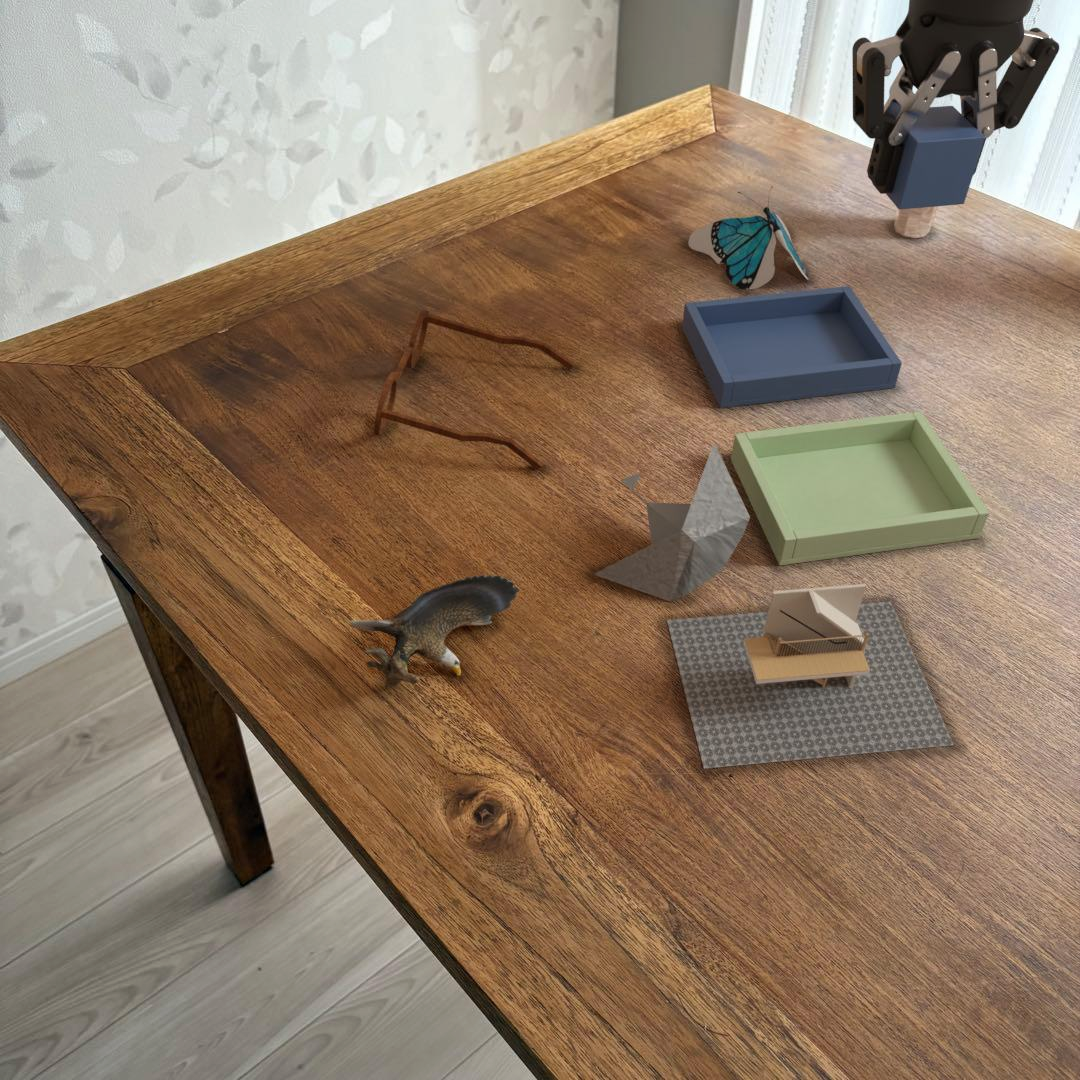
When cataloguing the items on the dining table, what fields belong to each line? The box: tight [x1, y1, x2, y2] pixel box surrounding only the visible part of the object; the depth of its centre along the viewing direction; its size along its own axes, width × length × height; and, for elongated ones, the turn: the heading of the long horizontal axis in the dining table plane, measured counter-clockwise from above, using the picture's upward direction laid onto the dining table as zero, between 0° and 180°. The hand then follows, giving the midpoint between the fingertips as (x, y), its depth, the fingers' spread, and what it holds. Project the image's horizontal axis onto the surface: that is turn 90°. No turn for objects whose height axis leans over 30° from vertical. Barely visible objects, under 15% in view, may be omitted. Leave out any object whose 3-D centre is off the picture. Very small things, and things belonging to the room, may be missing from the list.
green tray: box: [730, 411, 990, 566], centre depth 79 cm, size 15×11×2 cm
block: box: [884, 105, 985, 209], centre depth 78 cm, size 5×5×5 cm
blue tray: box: [681, 285, 903, 409], centre depth 91 cm, size 15×11×2 cm
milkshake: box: [893, 206, 939, 239], centre depth 102 cm, size 4×5×10 cm
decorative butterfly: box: [687, 185, 810, 290], centre depth 100 cm, size 10×6×10 cm
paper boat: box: [592, 442, 751, 603], centre depth 74 cm, size 12×6×9 cm
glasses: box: [373, 308, 575, 470], centre depth 85 cm, size 13×13×5 cm
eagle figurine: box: [348, 574, 520, 690], centre depth 68 cm, size 8×7×9 cm
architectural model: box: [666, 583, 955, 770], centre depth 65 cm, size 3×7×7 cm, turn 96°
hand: (918, 184), depth 80 cm, fingers closed on block, 5 cm apart
